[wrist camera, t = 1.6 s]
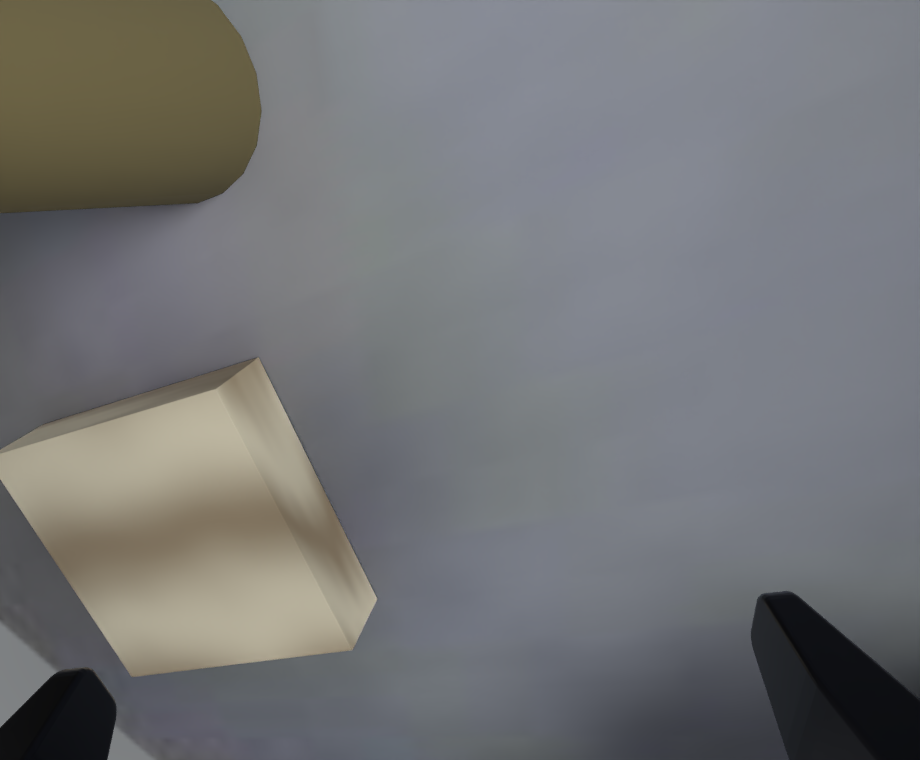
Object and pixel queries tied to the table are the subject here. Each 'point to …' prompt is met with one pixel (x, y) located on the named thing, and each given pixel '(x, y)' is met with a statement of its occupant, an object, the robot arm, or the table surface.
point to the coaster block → (193, 526)
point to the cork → (121, 103)
